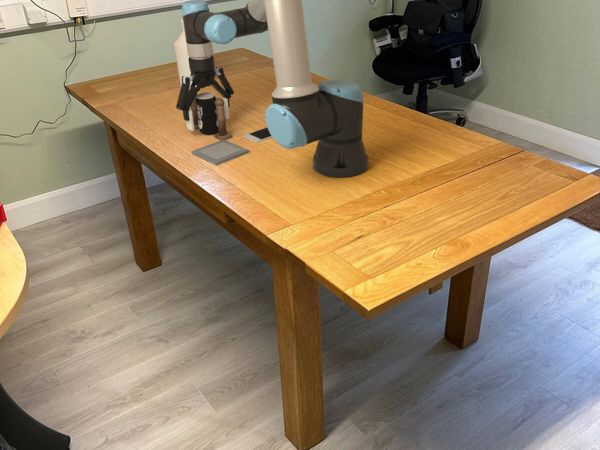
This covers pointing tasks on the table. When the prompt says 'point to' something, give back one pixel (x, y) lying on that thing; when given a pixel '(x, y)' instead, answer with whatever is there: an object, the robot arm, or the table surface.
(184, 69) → the bottle
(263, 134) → the smartphone
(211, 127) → the beverage can
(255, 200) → the table surface
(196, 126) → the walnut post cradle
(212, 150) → the slate coaster
